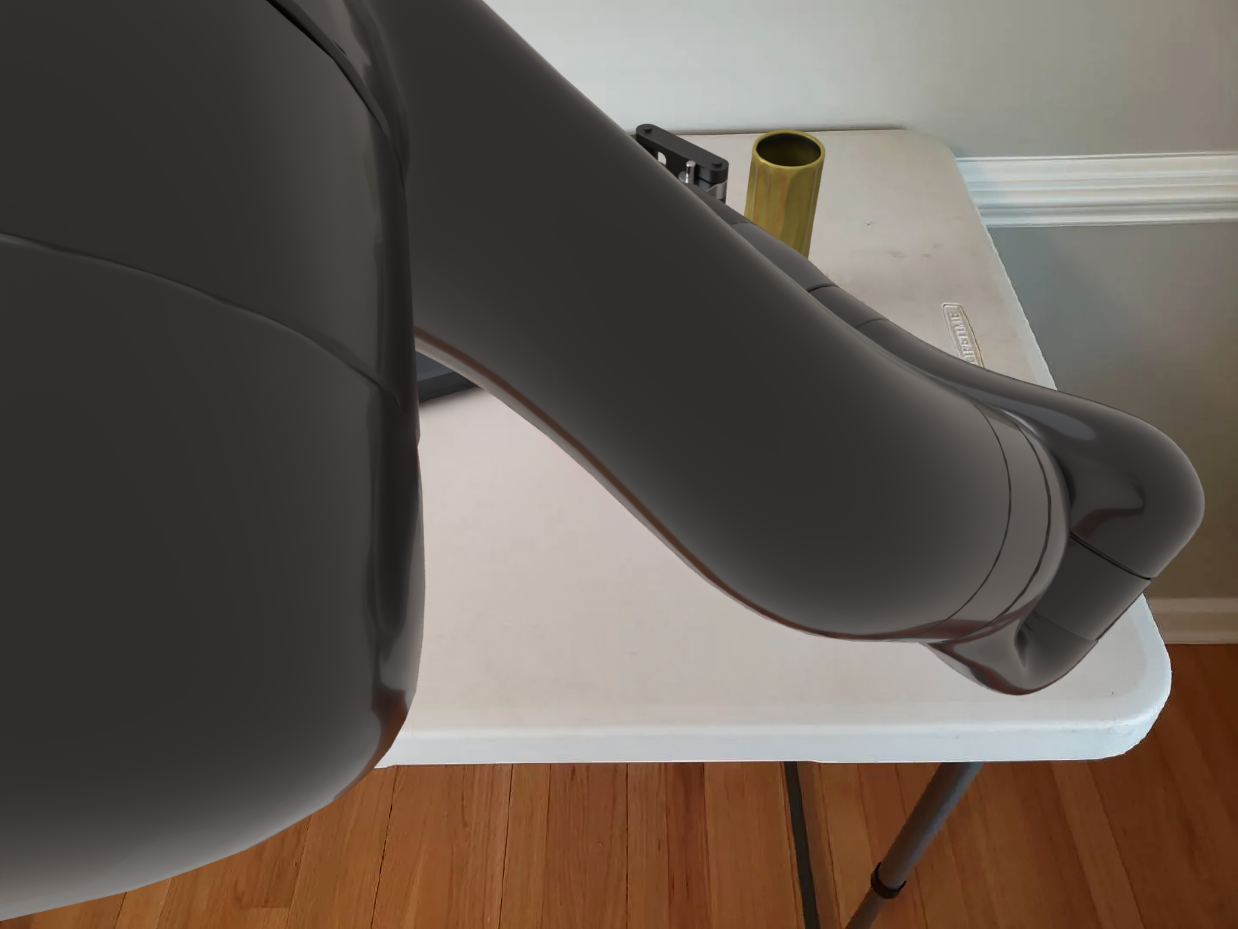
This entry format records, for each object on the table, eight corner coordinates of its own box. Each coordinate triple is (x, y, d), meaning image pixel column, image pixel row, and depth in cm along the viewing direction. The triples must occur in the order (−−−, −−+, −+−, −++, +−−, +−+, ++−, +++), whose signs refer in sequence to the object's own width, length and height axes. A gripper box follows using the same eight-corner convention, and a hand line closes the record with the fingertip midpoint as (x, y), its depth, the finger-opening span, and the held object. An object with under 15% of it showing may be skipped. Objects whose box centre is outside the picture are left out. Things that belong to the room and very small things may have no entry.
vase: (714, 301, 77) (728, 146, 66) (765, 270, 79) (786, 116, 69) (768, 338, 74) (791, 182, 63) (819, 305, 76) (850, 149, 66)
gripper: (844, 171, 40) (610, 36, 49) (581, 305, 35) (369, 126, 43) (818, 304, 46) (613, 163, 55) (589, 438, 40) (400, 257, 49)
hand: (506, 147), depth 49 cm, fingers closed on pill bottle, 6 cm apart
